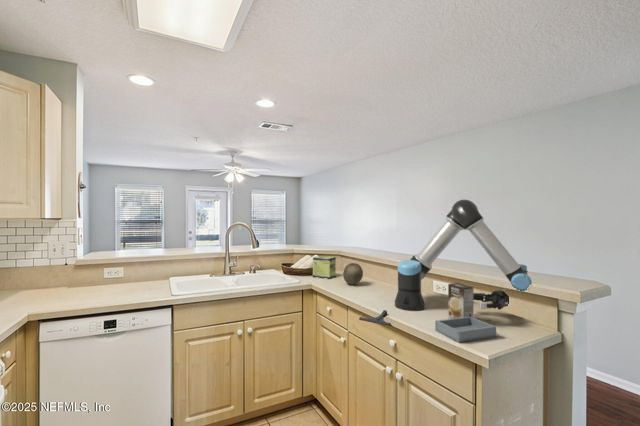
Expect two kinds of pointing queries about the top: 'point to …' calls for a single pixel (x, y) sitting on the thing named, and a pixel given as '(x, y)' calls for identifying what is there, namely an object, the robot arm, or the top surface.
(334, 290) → the top surface
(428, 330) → the top surface
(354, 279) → the dark brown ball
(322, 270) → the protein box
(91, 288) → the top surface
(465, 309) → the coffee box
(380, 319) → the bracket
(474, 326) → the tray
